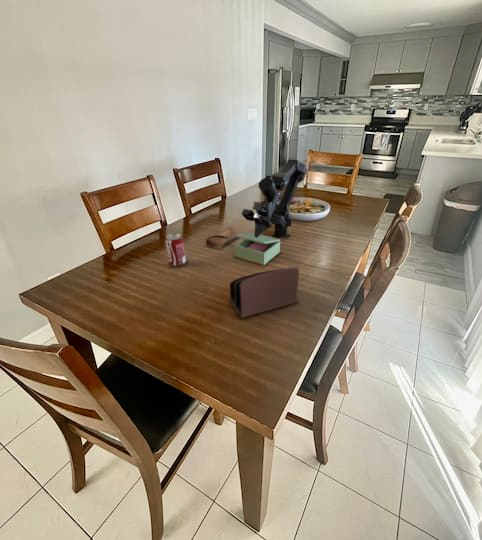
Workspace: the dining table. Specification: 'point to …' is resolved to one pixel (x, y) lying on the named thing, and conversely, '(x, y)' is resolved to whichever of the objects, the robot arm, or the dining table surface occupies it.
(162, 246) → the dining table surface
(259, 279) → the letter holder
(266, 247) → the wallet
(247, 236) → the lid
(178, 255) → the soda can
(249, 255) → the keepsake box
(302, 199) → the bowl
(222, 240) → the sunglasses case
